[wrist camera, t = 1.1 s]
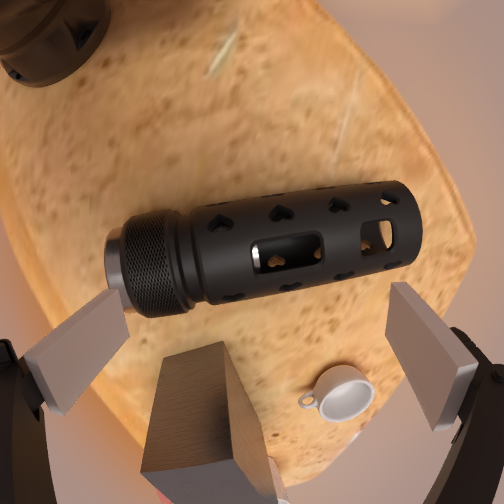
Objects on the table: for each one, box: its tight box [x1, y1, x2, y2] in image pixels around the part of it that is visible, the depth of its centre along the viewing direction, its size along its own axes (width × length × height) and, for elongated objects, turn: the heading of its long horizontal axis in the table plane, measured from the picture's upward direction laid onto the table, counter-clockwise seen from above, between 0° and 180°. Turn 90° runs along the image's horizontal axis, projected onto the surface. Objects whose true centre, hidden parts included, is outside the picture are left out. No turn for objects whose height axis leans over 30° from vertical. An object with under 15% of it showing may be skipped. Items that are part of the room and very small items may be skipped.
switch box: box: [140, 341, 278, 504], centre depth 29 cm, size 16×8×18 cm, turn 18°
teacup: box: [298, 365, 375, 422], centre depth 37 cm, size 10×8×5 cm
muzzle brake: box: [104, 180, 423, 318], centre depth 28 cm, size 10×28×10 cm, turn 99°
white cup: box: [268, 456, 290, 504], centre depth 38 cm, size 8×8×10 cm
